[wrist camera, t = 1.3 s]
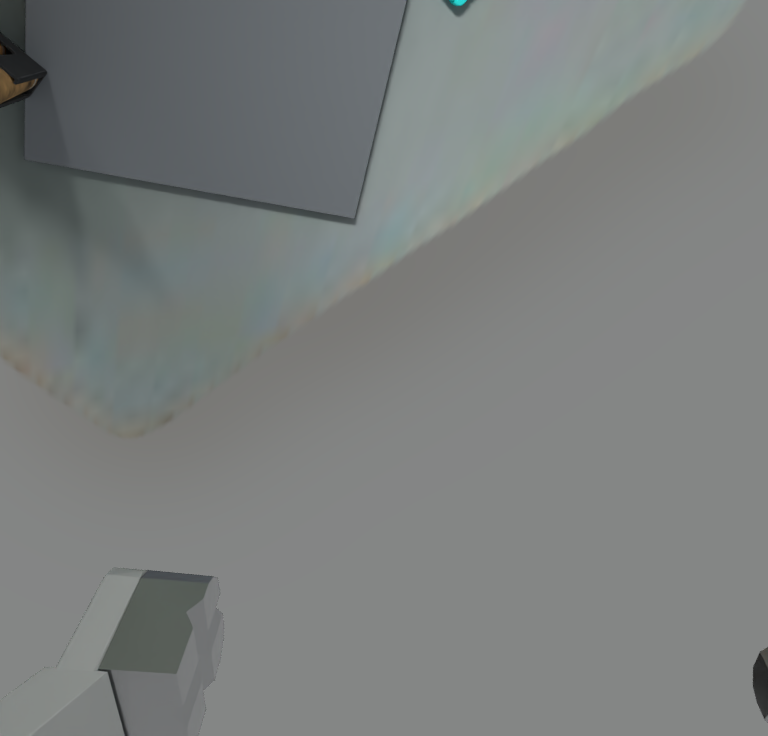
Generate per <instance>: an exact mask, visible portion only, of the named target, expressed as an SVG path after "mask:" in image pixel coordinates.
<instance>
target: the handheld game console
mask: <svg viewBox="0 0 768 736" xmlns="http://www.w3.org/2000/svg"><path fill="white" fill-rule="evenodd" d="M449 1H450V3H451V4H452V5H455V6H461V5H463V4H464V3H465V2H466V1H467V0H449Z"/></svg>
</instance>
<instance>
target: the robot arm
mask: <svg viewBox="0 0 768 736" xmlns="http://www.w3.org/2000/svg"><path fill="white" fill-rule="evenodd" d="M219 596H220V589H219V583H218V578H217V577H212V576H203V575H192V574H182V573H171V572H160V571H151V570H136V569H125V568H113V569H112V570H111V571H110V572H109V573H108V574H107V575H106V576H105V577H104V578H103V580H102V582H101V584H100V586H99V587H98V589H97V591H96V593H95V595H94V597H93V599H92V600H91V602H90V604H89V606H88V608H87V610H86V612H85V614H84V615H83V617H82V619H81V621H80V623H79V625H78V627H77V628H76V630H75V632H74V634H73V636H72V638H71V640H70V642H69V643H68V645H67V648H66V649H65V651H64V653H63V655H62V657H61V658H60V660H59V662H58V664H57V666H56V667H44V668H43V669H42V670H40V671H39V672H37V673H36V674H35V675H33V676H32V677H31V678H30V679H28V680H27V681H25V682H24V683H23V684H21V685H20V686H19V687H17V688H16V689H15V690H13V691H12V692H11V693H9V694H8V695H6V696H5V697H4V698H2V699H1V700H0V736H198V735H199V732H200V728H201V725H202V721H203V718H204V715H205V711H206V705H205V698H204V692H203V690H204V689H206V688H207V687H208V686H209V685H210V684H211V683H212V682H213V681H214V680H215V678H216V674H217V670H218V666H219V663H220V659H221V653H222V646H223V640H224V621H223V614H222V613H221V612H220V611H219V610H218V609H217V608H216V605H217V602H218V599H219ZM753 689H754V693H755V697H756V701H757V704H758V706H759V708H760V710H761V713H762V715H763V717H764V719H765V721H767V722H768V647H767V648H766V649H764V650H763V651H760V653H759V655H758V657H757V660H756V662H755V664H754V666H753Z"/></svg>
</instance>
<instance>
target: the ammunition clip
mask: <svg viewBox="0 0 768 736" xmlns="http://www.w3.org/2000/svg"><path fill="white" fill-rule="evenodd" d="M46 75H47V71H46V70H45V69H44V68H43V67H42V66H40V65H39V64H38V63H37V62H35V61H34V60H33V59H32V58H31V57H29V56H28V55H27V54H26V53H24V52H23V51H22V50H21V49H20V48H18V47H17V46H16V45H15V44H14V43H12V42H11V41H10V40H9V39H7V38H6V37H5V36H4V35H3V34H1V33H0V108H1V107H4V106H7V105H10V104H12V103H15V102H18V101H21V100H23V99H26V98H29V97H30V96H31V95H32V93H33V92H34V91H35V89H36V88H37V87H38V85H39V84H40V83H41V81H42V80H43V79H44V77H45V76H46Z"/></svg>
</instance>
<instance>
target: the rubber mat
mask: <svg viewBox="0 0 768 736" xmlns="http://www.w3.org/2000/svg"><path fill="white" fill-rule="evenodd" d="M406 1H407V0H26V31H25V53H26V54H27V55H28V56H29V57H31V58H32V59H33V60H34V61H35V62H37V63H38V64H39V65H40V66H42V67H43V68H44V69H45V70H46V71H47V75H46V76H45V77H44V79H43V80H42V81H41V83H40V84H39V85H38V87H37V88H36V89H35V91H34V92H33V93H32V95H31V96H30V97H29V98H26V99H25V145H24V160H29V161H35V162H40V163H46V164H52V165H57V166H63V167H68V168H74V169H80V170H85V171H91V172H96V173H102V174H108V175H113V176H119V177H124V178H130V179H136V180H141V181H147V182H152V183H158V184H164V185H169V186H175V187H180V188H186V189H192V190H197V191H203V192H209V193H214V194H220V195H225V196H231V197H237V198H242V199H248V200H253V201H259V202H265V203H270V204H276V205H281V206H287V207H293V208H298V209H304V210H309V211H315V212H321V213H326V214H332V215H337V216H343V217H349V218H355V214H356V210H357V206H358V202H359V197H360V193H361V189H362V185H363V181H364V177H365V172H366V168H367V164H368V160H369V156H370V151H371V147H372V143H373V139H374V135H375V131H376V126H377V122H378V118H379V114H380V110H381V106H382V101H383V97H384V93H385V89H386V85H387V80H388V76H389V72H390V68H391V64H392V60H393V55H394V51H395V47H396V43H397V39H398V34H399V30H400V26H401V22H402V18H403V14H404V9H405V5H406Z"/></svg>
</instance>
